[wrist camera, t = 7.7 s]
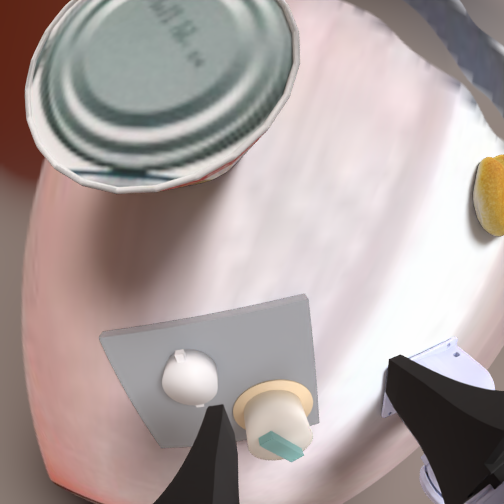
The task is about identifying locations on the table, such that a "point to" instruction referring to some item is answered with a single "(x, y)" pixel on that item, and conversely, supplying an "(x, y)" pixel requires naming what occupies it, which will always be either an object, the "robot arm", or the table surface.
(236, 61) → the canned food
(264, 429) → the cap
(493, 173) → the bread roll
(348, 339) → the table surface
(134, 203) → the table surface
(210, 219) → the table surface
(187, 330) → the post board
